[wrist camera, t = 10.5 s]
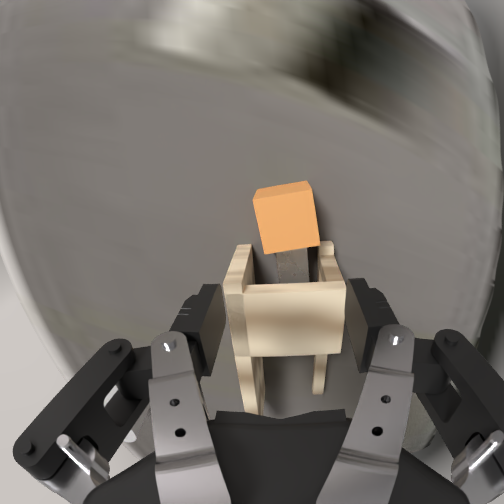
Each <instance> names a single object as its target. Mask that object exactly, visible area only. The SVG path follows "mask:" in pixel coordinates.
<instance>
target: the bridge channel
mask: <svg viewBox="0 0 504 504" xmlns="http://www.w3.org/2000/svg"><path fill="white" fill-rule="evenodd" d="M223 288H224V295H225V301H226V307H227V313H228V320H229V326H230V332H231V337H232V343H233V349H234V355H235V360H236V366H237V371H238V377H239V382H240V388H241V393H242V398H243V403H244V409H245V412H248V413H252V414H257V415H261V416H263V409H264V398H265V380H264V369H263V359H262V357H266V356H302V355H314V370H313V383H312V392H313V394H323V389H324V381H325V373H326V364H327V354H335V353H340V352H341V345H342V337H343V328H344V319H345V315H344V309H345V298H346V285H345V282H344V280H343V277H342V275H341V272H340V270H339V267H338V265H337V262H336V260H335V257H334V245H333V243H332V241H320V245H319V246H318V275H317V282H311V283H288V284H262V285H255V275H254V264H253V254H252V244H247V245H237V248H236V251H235V253H234V256H233V258H232V261H231V264H230V266H229V269H228V271H227V274H226V277H225V279H224V282H223Z"/></svg>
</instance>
